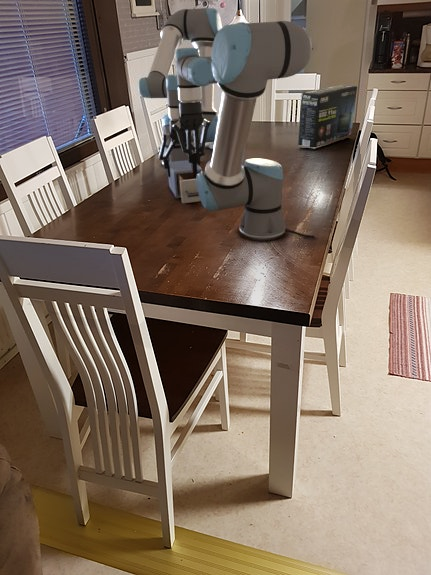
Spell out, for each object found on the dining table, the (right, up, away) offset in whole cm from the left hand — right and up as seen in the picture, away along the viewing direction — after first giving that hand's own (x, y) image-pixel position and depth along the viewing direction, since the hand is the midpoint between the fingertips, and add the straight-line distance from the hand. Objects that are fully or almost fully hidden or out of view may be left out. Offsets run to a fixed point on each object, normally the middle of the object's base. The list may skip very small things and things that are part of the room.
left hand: (183, 174), depth 187 cm
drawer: (+5, -12, -13) cm, 18 cm away
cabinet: (+1, -7, -1) cm, 7 cm away
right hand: (+6, -5, -25) cm, 26 cm away
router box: (+72, +31, +57) cm, 97 cm away
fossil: (+14, +29, +58) cm, 66 cm away
